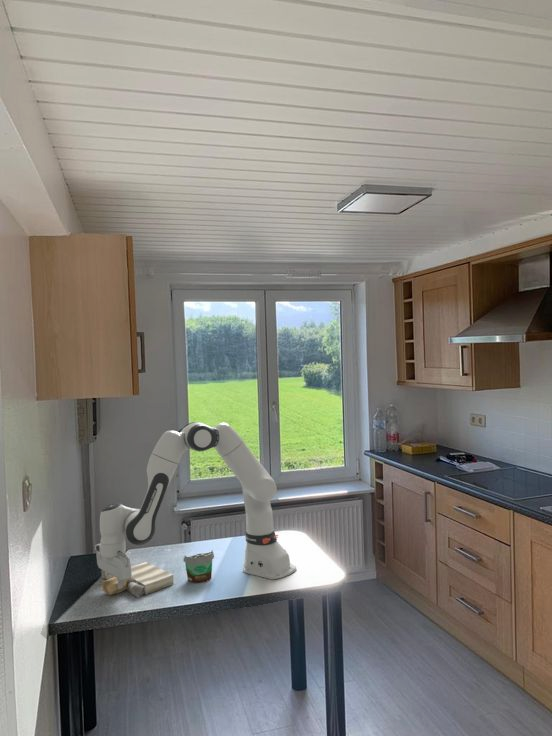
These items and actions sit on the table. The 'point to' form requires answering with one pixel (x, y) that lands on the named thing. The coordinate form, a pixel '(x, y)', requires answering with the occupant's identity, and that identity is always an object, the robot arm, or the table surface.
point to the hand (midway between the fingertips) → (114, 585)
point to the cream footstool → (148, 579)
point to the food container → (199, 567)
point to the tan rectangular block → (114, 585)
